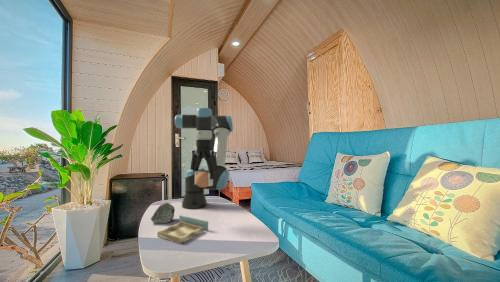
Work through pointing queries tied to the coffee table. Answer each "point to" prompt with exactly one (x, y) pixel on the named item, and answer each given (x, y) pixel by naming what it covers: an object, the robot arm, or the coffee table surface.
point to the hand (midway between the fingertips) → (203, 184)
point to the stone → (163, 214)
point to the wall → (194, 222)
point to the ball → (202, 179)
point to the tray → (180, 232)
